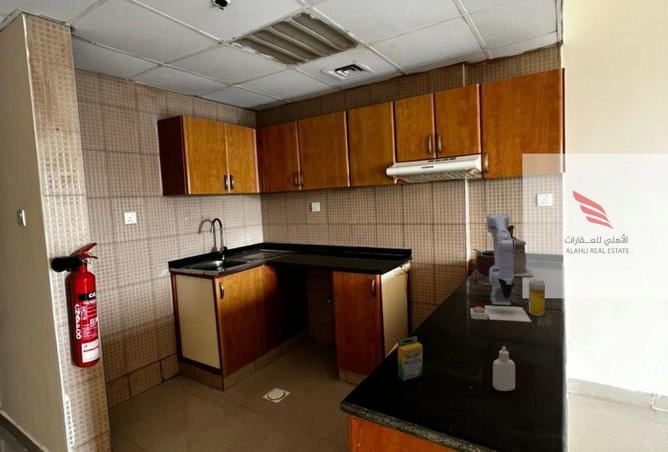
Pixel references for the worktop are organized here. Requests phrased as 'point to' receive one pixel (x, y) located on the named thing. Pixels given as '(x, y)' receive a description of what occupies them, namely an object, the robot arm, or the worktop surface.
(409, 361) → the crayon box
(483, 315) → the button housing
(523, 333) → the worktop surface
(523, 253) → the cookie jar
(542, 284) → the beer glass
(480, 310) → the button
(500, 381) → the eye dropper bottle
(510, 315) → the white flat slab
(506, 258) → the robot arm
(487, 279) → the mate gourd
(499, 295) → the grey block
